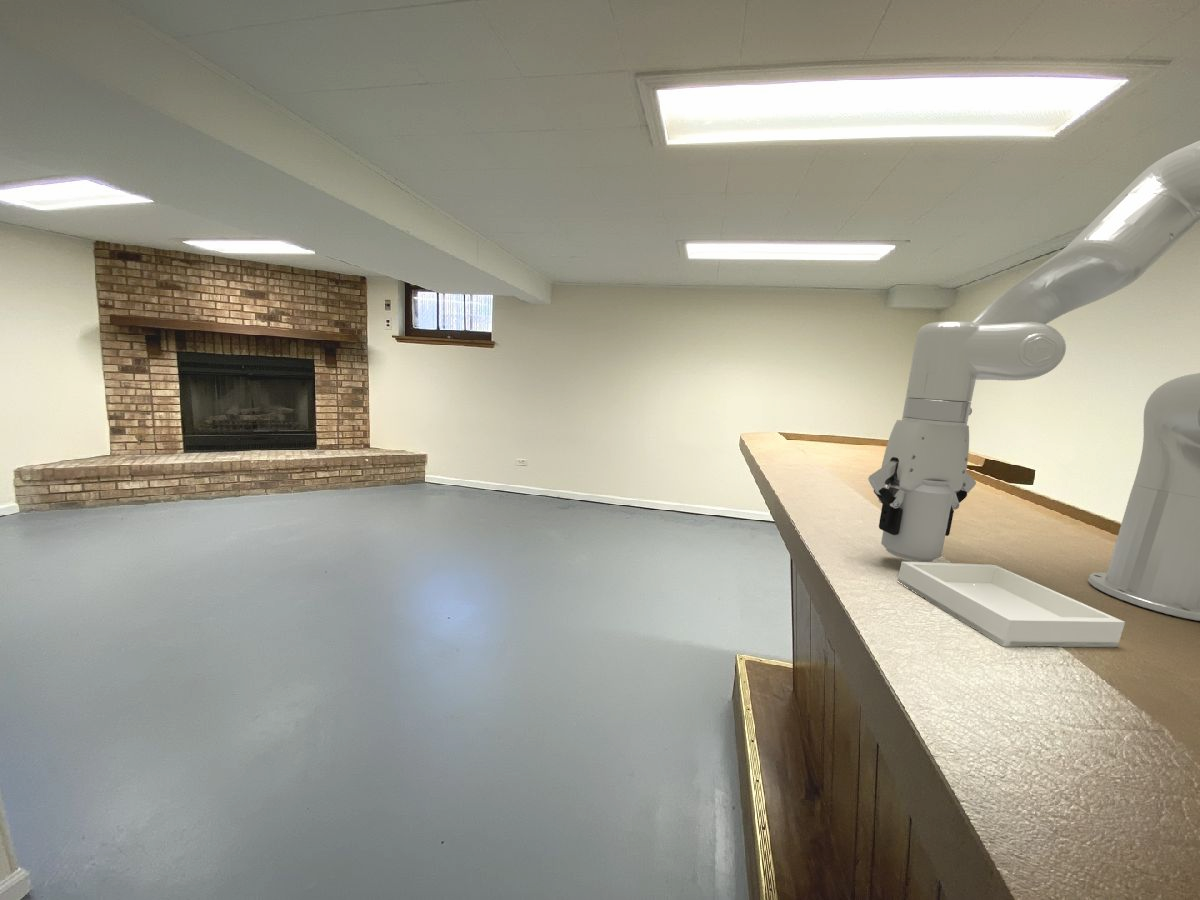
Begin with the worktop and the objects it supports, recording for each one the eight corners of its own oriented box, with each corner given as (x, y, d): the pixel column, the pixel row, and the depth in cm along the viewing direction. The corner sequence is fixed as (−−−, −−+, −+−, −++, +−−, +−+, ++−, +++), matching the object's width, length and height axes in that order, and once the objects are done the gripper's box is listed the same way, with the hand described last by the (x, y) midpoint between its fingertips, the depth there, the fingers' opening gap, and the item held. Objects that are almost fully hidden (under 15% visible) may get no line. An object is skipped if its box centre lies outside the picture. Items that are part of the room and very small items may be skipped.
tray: (989, 584, 65) (995, 564, 64) (1117, 647, 50) (1125, 622, 50) (897, 582, 63) (901, 561, 62) (1002, 646, 48) (1009, 620, 48)
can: (921, 547, 72) (935, 472, 70) (952, 566, 64) (969, 483, 62) (870, 542, 72) (883, 468, 70) (896, 561, 65) (910, 479, 63)
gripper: (965, 413, 70) (943, 524, 73) (860, 407, 67) (842, 523, 70) (1015, 418, 62) (988, 542, 65) (900, 412, 60) (878, 541, 63)
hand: (913, 531), depth 68 cm, fingers closed on can, 7 cm apart
